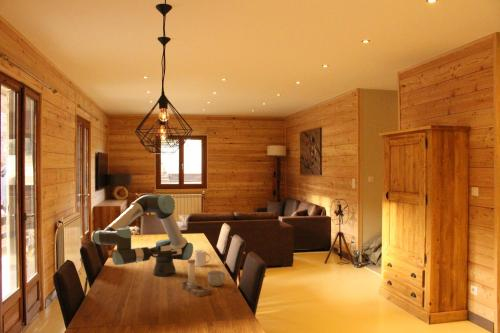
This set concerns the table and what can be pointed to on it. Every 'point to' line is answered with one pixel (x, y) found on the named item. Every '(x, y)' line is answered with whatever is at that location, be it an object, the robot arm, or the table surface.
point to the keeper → (191, 274)
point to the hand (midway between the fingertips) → (176, 249)
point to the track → (196, 289)
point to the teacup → (216, 278)
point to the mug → (200, 258)
